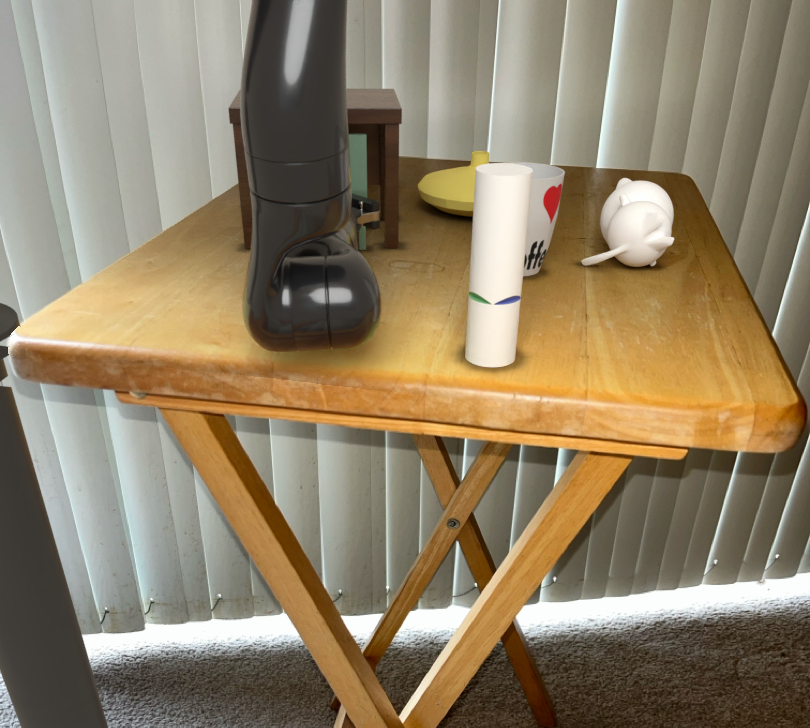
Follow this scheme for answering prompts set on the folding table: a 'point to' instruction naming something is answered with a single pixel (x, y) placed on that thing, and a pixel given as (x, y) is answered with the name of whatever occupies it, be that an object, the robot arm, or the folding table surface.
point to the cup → (541, 213)
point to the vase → (453, 186)
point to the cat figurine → (636, 224)
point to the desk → (380, 123)
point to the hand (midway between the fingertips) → (320, 193)
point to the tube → (497, 262)
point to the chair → (359, 173)
